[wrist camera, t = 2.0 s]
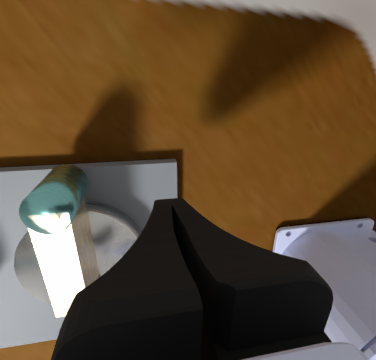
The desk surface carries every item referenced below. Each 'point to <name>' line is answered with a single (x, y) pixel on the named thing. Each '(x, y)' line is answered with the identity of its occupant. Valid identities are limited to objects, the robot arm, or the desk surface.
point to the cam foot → (68, 238)
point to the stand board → (97, 192)
